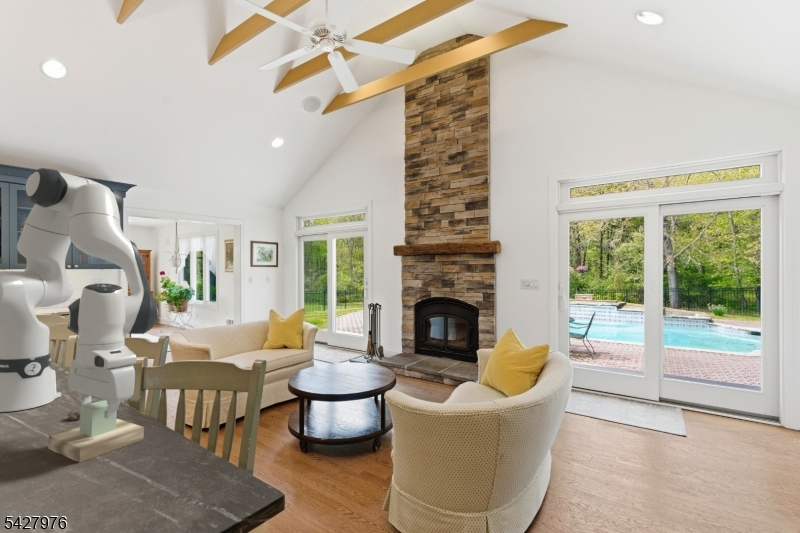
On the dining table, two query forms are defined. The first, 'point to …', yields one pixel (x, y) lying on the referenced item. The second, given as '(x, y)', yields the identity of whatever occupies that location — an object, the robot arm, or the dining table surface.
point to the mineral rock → (74, 415)
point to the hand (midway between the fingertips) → (98, 414)
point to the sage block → (95, 419)
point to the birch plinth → (94, 441)
